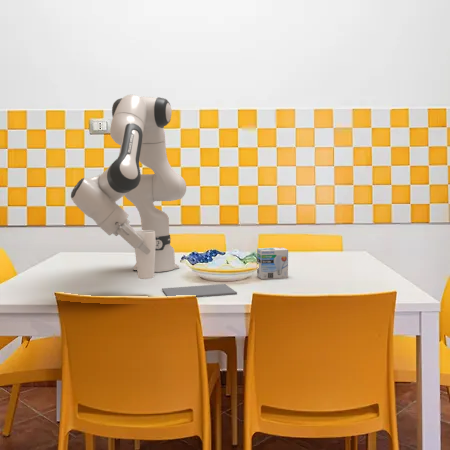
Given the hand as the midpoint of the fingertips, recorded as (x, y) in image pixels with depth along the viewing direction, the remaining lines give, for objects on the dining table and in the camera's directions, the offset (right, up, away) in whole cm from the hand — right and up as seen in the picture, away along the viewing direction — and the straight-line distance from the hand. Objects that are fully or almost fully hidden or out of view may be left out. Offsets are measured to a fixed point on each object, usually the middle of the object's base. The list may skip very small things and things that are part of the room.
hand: (147, 250), depth 167 cm
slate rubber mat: (+16, -14, +5) cm, 22 cm away
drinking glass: (-1, -9, +1) cm, 9 cm away
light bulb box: (+43, -11, +29) cm, 53 cm away
